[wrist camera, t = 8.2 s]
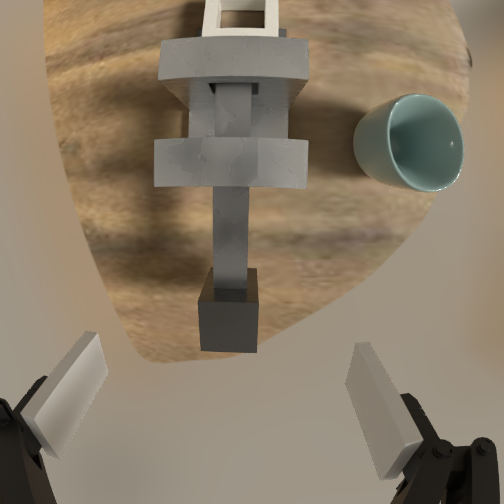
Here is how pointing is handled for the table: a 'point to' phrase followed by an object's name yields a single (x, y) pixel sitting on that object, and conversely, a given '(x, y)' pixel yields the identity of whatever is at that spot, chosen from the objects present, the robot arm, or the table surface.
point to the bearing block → (262, 112)
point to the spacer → (217, 3)
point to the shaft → (230, 244)
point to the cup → (410, 144)
